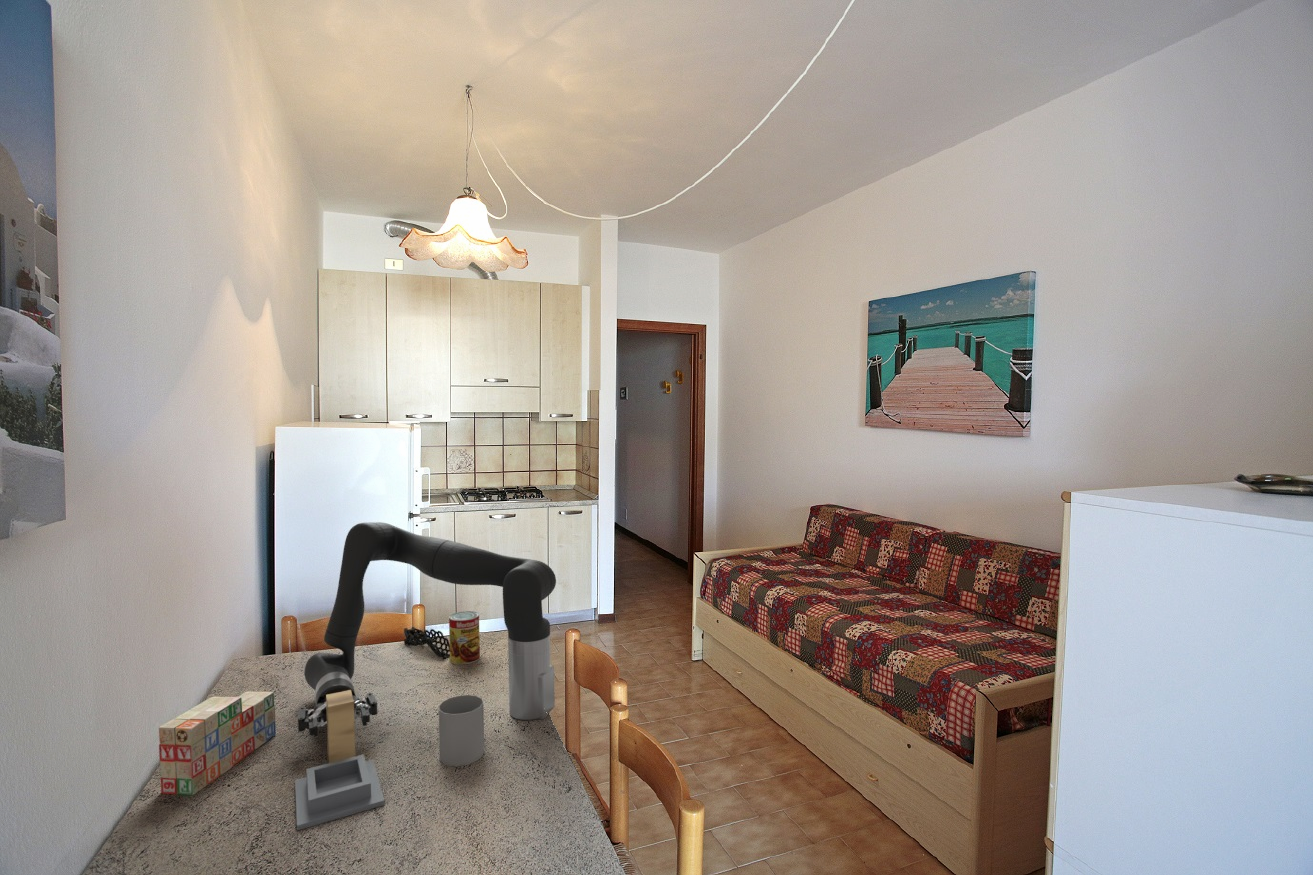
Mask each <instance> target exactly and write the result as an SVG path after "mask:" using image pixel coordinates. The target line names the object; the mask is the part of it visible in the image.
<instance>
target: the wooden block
mask: <svg viewBox="0 0 1313 875" xmlns="http://www.w3.org/2000/svg"><path fill="white" fill-rule="evenodd" d="M326 710H327V723H326V736H327V737H326V738H327V739H326V740H327V741H326V743H327V744H326V745H327V746H326V747H327V758H328V763H332V762H336V761H340V760H344V759H348V758H351V757H355V756H356V733H355V732H356V731H355V729H356V727H355V719H354V700H353V696H352V692H351V690H347V691H342V692H338V693H333V694H328V695H326Z"/></svg>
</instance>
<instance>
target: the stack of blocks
mask: <svg viewBox="0 0 1313 875" xmlns="http://www.w3.org/2000/svg"><path fill="white" fill-rule="evenodd" d="M276 728H277V726H276V706H275V692H274V691H245V692H243V693H242V694H240V695H238V696H211V697H209V698H208V699H205V700H204V701H202V702H200V703H199V704H197V705H195V706H193V707H192V708H190V709H189V710H187V711H185V712H184V713H182V714H180V715H178V716H176V717H175V718H173V719H171V720H169V721H167V722H166V723H164V724H162V725H160V726H159V727H158V734H159V735H158V739H159V744H158V753H159V762H160V763H159V764H160V765H159V766H160V791H161V792H160V793H161V794H166V795H184V796H185V795H189V796H192V795H195V794H197V793H198V792H199V791H200V790H202V789H204V788H205V787H206V786H208V785H210V784H211V783H212V782H214V781H215V780H217V779H218V778H219V777H221V776H222V775H224V773H226V772H228V771H229V770H230V769H232V767H234V766H235V765H237V764H238V763H239V762H240V761H242V760H243V759H245V758H246V757H247V756H249V755H250V754H251V753H253V752H254V751H255V750H257V749H258V748H260V747H261V746H262V745H263V744H265V743H266V742H268V741H269V740H271V739H272V738H273V737H275V736H276V735H277V732H276V730H277V729H276ZM275 734H276V735H275ZM274 735H275V736H274ZM272 736H273V737H272ZM271 737H272V738H271ZM270 738H271V739H270ZM267 740H268V741H267Z"/></svg>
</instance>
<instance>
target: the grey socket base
mask: <svg viewBox="0 0 1313 875" xmlns="http://www.w3.org/2000/svg"><path fill="white" fill-rule="evenodd" d="M294 783H295V784H294V787H295V788H294V789H295V811H296V813H295V814H296V815H295V816H296V831H300V830H304V829H307V828H310V827H314V826H318V825H320V824H324V823H327V822H331V821H334V820H337V819H342V818H344V817H347V816H351V815H354V814H359V813H362V812H365V811H369V810H371V809H375V808H379V807H382V806H385V798H384V795H383V791H382V787H381V783H380V780H379V775H378V773H377V769H376V766H375V761H374V759H370V760H366V758H365V754H360V755H357V756H356V755H355V757H351V758H348V759H344V760H340V761H336V762H332V763H329V762H328V763H324V764H320V765H316V766H313V767H308V768H306V776H305V777H302V778H297V779H295V780H294Z"/></svg>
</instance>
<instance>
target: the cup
mask: <svg viewBox="0 0 1313 875" xmlns="http://www.w3.org/2000/svg"><path fill="white" fill-rule="evenodd" d="M484 710H485V708H484V700H483V697H482V698H481V697H479V696H478V695H475V694H474V695H473V694H462V695H456V696H453V697H449V698H447V699H445V700H444V701H441V703H440V704H439V705H438V742H439V743H438V745H439V746H438V747H439V761H440V762H441V763H442V764H443V765H445V766H451V767H460V766H467V765H470V764H472V763H475V762H476V761H478V760H480V759H481V758H482V757H483V755H484V754H485V733H484V732H485V722H484V720H485V718H484V717H485V716H484V714H485V712H484Z"/></svg>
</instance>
